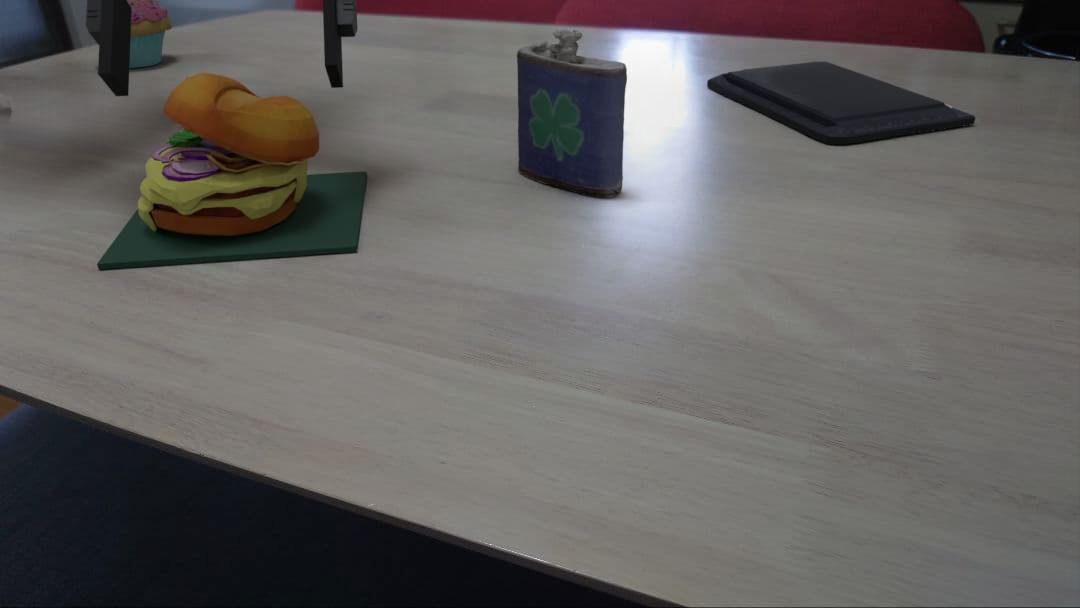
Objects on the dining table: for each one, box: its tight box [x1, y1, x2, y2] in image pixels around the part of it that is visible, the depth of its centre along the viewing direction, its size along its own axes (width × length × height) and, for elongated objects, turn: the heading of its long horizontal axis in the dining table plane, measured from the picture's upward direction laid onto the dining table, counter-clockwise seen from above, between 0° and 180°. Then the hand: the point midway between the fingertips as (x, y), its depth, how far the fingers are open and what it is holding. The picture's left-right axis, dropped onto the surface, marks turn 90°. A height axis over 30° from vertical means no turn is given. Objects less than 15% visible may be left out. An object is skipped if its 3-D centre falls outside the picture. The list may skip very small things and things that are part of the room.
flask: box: [516, 29, 628, 199], centre depth 57 cm, size 9×3×11 cm, turn 47°
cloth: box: [96, 170, 368, 270], centre depth 55 cm, size 15×13×1 cm
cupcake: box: [85, 0, 173, 69], centre depth 90 cm, size 9×8×12 cm
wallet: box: [706, 61, 976, 146], centre depth 75 cm, size 20×2×15 cm
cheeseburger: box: [137, 72, 320, 236], centre depth 52 cm, size 10×11×10 cm
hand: (225, 81), depth 52 cm, fingers open, 13 cm apart
